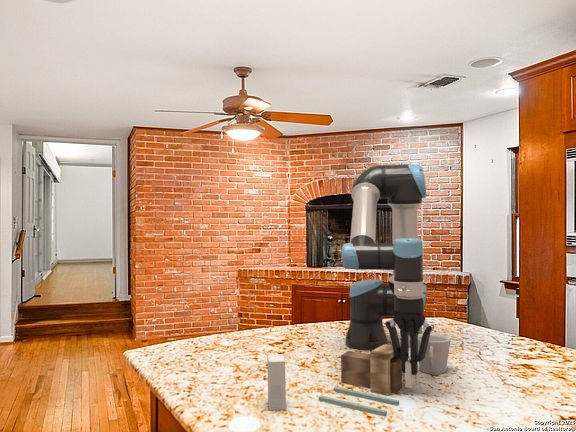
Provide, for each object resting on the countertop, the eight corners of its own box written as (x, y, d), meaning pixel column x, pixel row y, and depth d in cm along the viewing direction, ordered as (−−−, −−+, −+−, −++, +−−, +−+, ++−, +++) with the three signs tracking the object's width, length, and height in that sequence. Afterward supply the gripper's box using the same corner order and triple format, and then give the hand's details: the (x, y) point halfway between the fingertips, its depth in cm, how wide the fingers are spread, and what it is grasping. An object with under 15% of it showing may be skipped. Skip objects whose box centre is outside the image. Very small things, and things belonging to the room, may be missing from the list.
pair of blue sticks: (318, 400, 125) (318, 396, 125) (335, 390, 133) (335, 386, 133) (384, 416, 115) (384, 412, 115) (399, 404, 122) (399, 400, 122)
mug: (451, 366, 152) (450, 334, 152) (450, 382, 138) (450, 346, 138) (416, 363, 155) (416, 332, 155) (412, 378, 141) (411, 344, 141)
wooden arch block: (370, 391, 131) (370, 351, 131) (385, 381, 139) (384, 343, 139) (388, 395, 128) (387, 354, 128) (401, 385, 136) (401, 346, 136)
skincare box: (267, 401, 125) (267, 354, 125) (284, 400, 125) (283, 353, 125) (268, 410, 119) (268, 361, 119) (286, 410, 119) (285, 360, 119)
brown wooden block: (341, 383, 138) (341, 355, 138) (349, 378, 142) (348, 350, 142) (395, 394, 129) (395, 364, 129) (402, 388, 134) (402, 359, 134)
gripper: (380, 296, 130) (381, 385, 130) (428, 300, 123) (429, 395, 123) (391, 292, 137) (392, 377, 137) (437, 296, 129) (438, 386, 129)
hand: (410, 386), depth 130 cm, fingers closed
